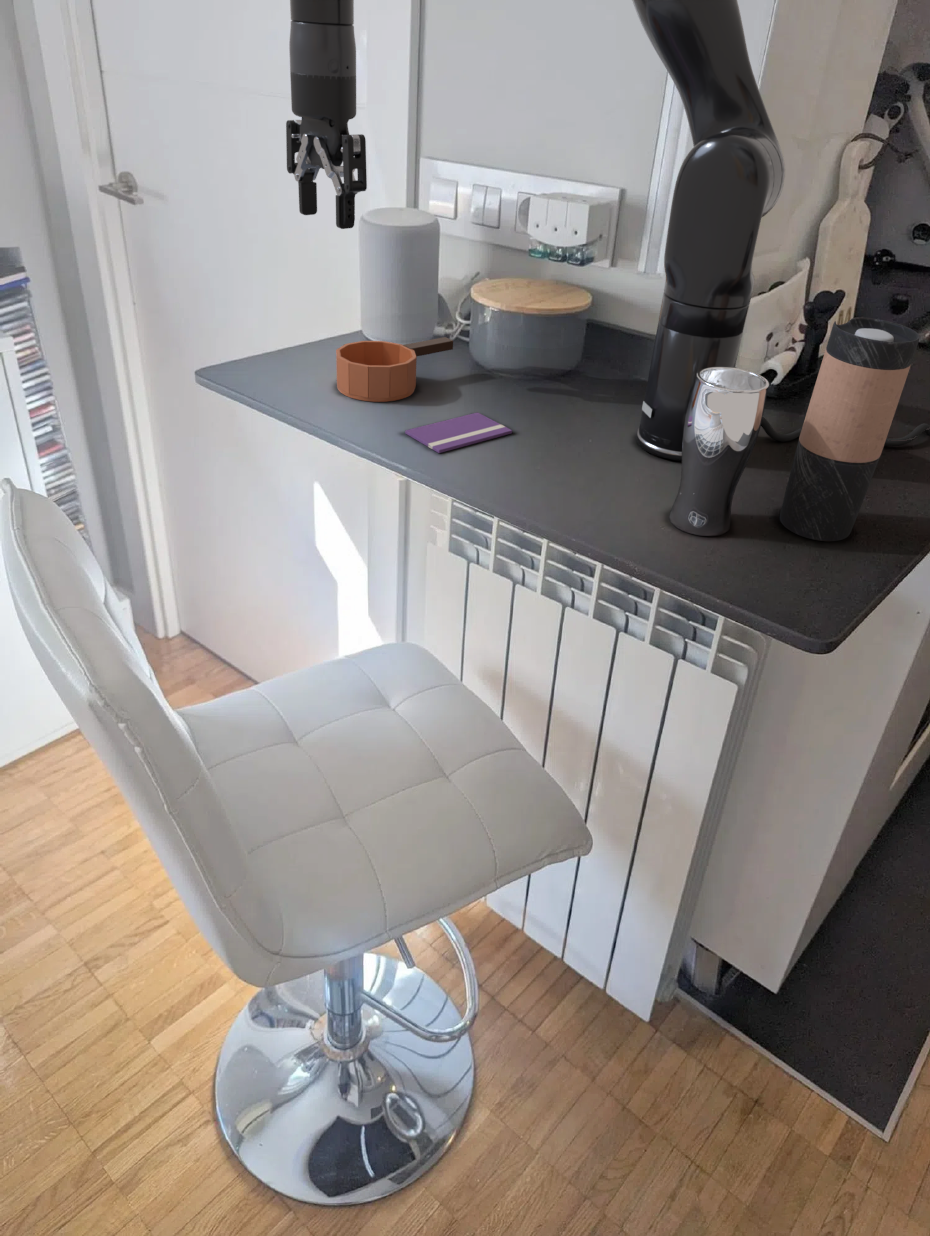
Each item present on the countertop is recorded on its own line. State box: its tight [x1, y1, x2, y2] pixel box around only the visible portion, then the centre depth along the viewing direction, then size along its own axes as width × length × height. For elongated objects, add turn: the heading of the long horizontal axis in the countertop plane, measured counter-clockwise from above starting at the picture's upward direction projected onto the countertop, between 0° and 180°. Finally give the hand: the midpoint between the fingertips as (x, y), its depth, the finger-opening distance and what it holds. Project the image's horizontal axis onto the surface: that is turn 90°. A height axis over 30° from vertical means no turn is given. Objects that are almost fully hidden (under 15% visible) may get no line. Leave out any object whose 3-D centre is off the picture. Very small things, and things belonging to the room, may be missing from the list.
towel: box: [404, 412, 513, 454], centre depth 107 cm, size 11×6×1 cm, turn 129°
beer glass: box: [668, 367, 770, 537], centre depth 88 cm, size 7×7×15 cm
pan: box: [335, 336, 454, 403], centre depth 118 cm, size 17×10×5 cm, turn 129°
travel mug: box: [779, 317, 920, 542], centre depth 88 cm, size 8×8×20 cm
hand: (326, 220), depth 113 cm, fingers open, 8 cm apart
